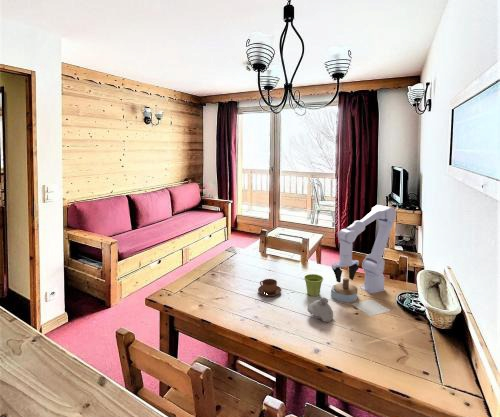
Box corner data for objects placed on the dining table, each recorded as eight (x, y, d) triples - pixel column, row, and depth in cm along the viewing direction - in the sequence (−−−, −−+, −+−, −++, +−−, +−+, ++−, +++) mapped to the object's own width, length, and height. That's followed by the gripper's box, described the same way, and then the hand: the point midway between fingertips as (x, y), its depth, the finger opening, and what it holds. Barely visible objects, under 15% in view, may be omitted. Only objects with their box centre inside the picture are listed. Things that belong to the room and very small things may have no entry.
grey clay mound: (338, 323, 139) (344, 304, 135) (317, 331, 133) (323, 312, 129) (319, 305, 148) (325, 287, 144) (300, 312, 142) (305, 293, 138)
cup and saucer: (254, 296, 160) (254, 284, 159) (262, 286, 171) (262, 275, 170) (277, 299, 156) (277, 288, 155) (283, 289, 167) (284, 278, 166)
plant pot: (323, 298, 156) (323, 282, 155) (303, 297, 158) (303, 280, 157) (322, 290, 165) (323, 274, 164) (304, 289, 167) (304, 273, 166)
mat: (371, 300, 154) (371, 299, 154) (390, 311, 143) (391, 310, 143) (351, 304, 150) (351, 304, 150) (369, 317, 139) (369, 316, 139)
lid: (351, 284, 162) (351, 274, 161) (361, 294, 152) (362, 283, 151) (330, 286, 161) (330, 275, 160) (339, 295, 150) (339, 284, 149)
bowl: (346, 289, 165) (346, 282, 165) (362, 299, 154) (362, 292, 154) (326, 294, 161) (327, 286, 160) (341, 304, 150) (342, 296, 149)
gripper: (352, 249, 160) (351, 275, 162) (328, 253, 155) (327, 279, 157) (362, 253, 153) (361, 280, 156) (337, 258, 148) (336, 285, 151)
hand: (344, 280), depth 156 cm, fingers open, 7 cm apart
